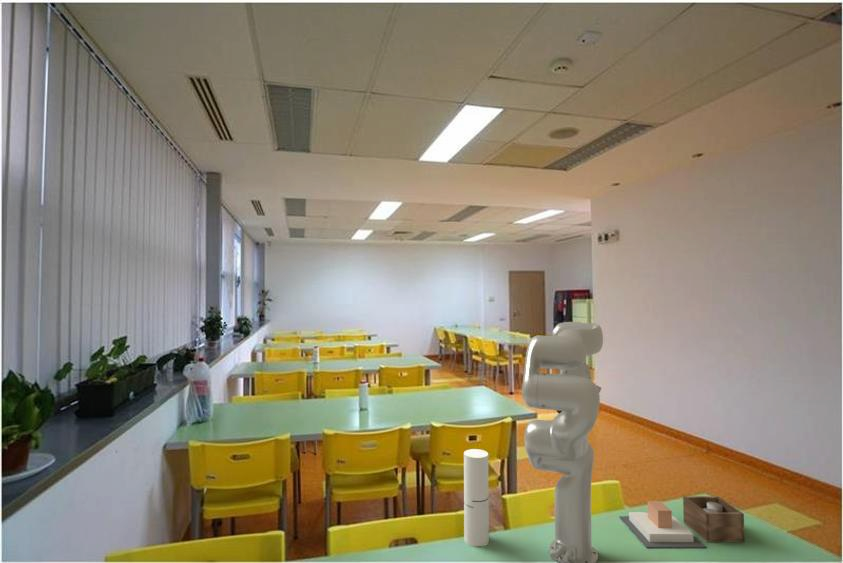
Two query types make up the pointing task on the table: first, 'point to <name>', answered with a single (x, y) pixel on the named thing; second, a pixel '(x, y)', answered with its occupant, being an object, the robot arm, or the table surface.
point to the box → (713, 519)
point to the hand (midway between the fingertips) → (574, 413)
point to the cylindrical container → (476, 497)
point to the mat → (647, 544)
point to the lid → (660, 524)
